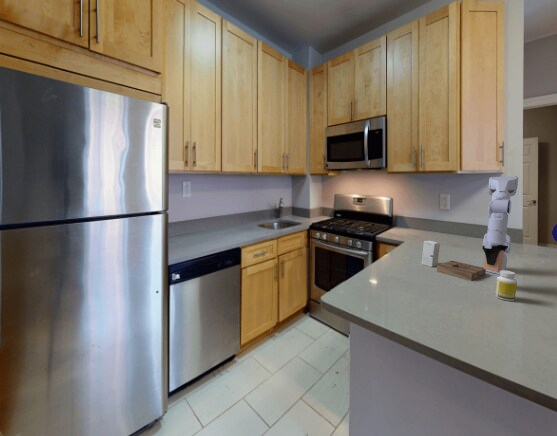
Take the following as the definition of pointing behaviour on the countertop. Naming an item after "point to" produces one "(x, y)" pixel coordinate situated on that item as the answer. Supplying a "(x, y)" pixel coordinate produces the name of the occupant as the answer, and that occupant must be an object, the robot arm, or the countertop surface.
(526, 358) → the countertop surface
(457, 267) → the walnut socket block
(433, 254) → the skincare box
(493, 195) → the robot arm
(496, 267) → the terracotta peg
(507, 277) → the supplement bottle
